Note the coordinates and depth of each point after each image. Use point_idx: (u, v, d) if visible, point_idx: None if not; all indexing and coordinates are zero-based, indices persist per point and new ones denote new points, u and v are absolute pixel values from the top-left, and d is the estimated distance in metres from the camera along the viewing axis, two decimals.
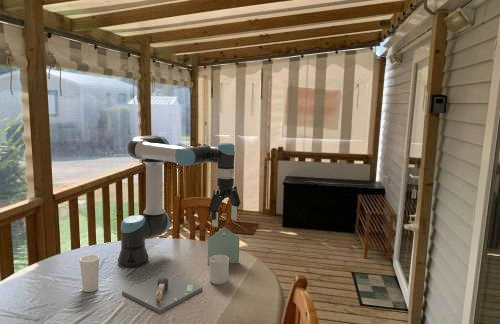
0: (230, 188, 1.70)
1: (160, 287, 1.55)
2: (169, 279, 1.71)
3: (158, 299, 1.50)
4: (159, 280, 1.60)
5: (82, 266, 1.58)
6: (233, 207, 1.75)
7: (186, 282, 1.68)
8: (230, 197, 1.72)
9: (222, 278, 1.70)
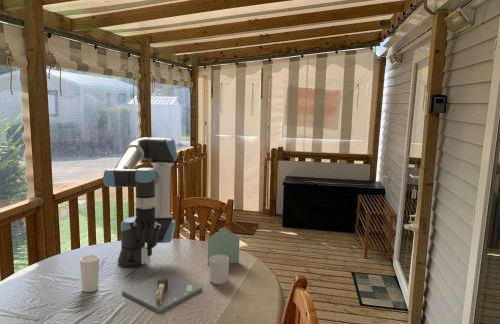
0: (150, 219, 1.48)
1: (160, 287, 1.55)
2: (169, 279, 1.71)
3: (158, 299, 1.50)
4: (159, 280, 1.60)
5: (82, 266, 1.58)
6: None
7: (186, 282, 1.68)
8: None
9: (222, 278, 1.70)
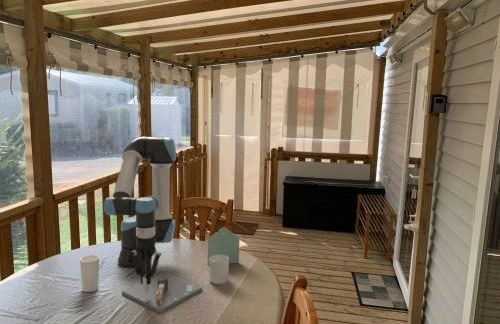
0: (150, 249, 1.50)
1: (160, 287, 1.55)
2: (169, 279, 1.71)
3: (158, 299, 1.50)
4: (159, 280, 1.60)
5: (82, 266, 1.58)
6: None
7: (186, 282, 1.68)
8: None
9: (222, 278, 1.70)
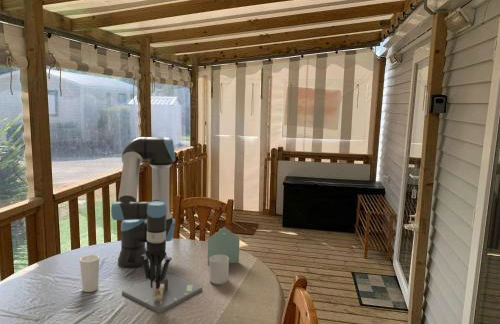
0: (161, 253, 1.49)
1: (161, 287, 1.55)
2: (169, 279, 1.71)
3: (159, 299, 1.50)
4: None
5: (82, 266, 1.58)
6: None
7: (186, 282, 1.68)
8: None
9: (222, 278, 1.70)
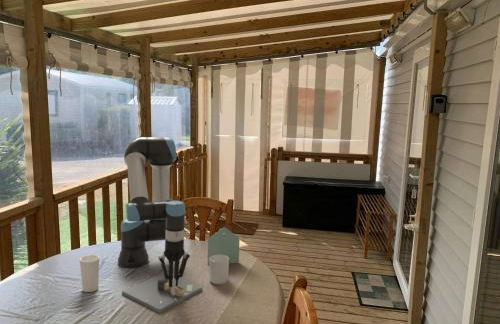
0: (181, 250, 1.53)
1: None
2: None
3: (182, 294, 1.55)
4: (160, 281, 1.59)
5: (82, 266, 1.58)
6: None
7: (186, 282, 1.68)
8: (175, 263, 1.53)
9: (222, 278, 1.70)
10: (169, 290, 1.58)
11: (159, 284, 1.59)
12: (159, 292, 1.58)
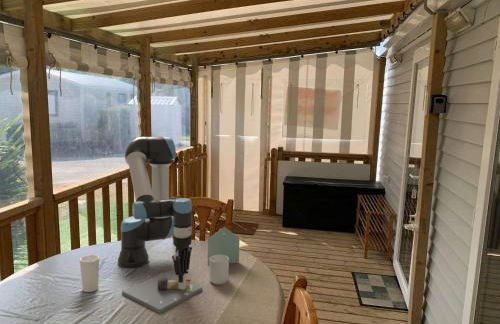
0: None
1: (176, 281, 1.62)
2: (169, 279, 1.71)
3: (189, 285, 1.63)
4: (163, 281, 1.60)
5: (82, 266, 1.58)
6: None
7: None
8: None
9: (222, 278, 1.70)
10: (174, 286, 1.61)
11: (162, 284, 1.59)
12: (159, 292, 1.58)
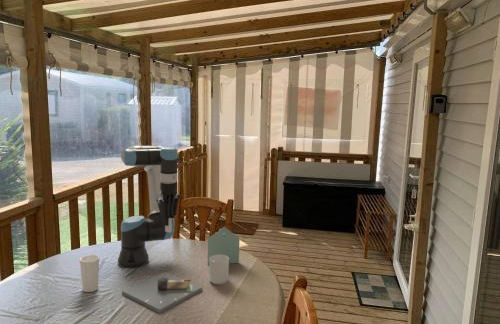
0: (174, 191, 1.70)
1: (176, 281, 1.62)
2: (169, 279, 1.71)
3: (189, 285, 1.63)
4: (163, 281, 1.60)
5: (82, 266, 1.58)
6: None
7: None
8: (170, 203, 1.70)
9: (222, 278, 1.70)
10: (174, 286, 1.61)
11: (162, 284, 1.59)
12: (159, 292, 1.58)
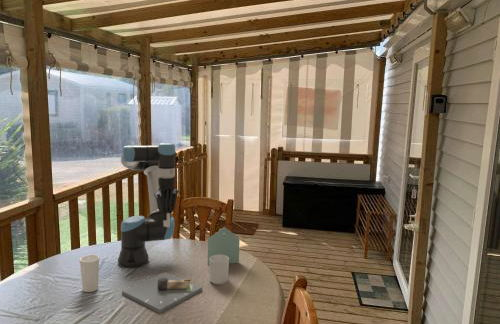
0: (172, 186, 1.73)
1: (176, 281, 1.62)
2: (169, 279, 1.71)
3: (189, 285, 1.63)
4: (163, 281, 1.60)
5: (82, 266, 1.58)
6: None
7: None
8: (168, 198, 1.73)
9: (222, 278, 1.70)
10: (174, 286, 1.61)
11: (162, 284, 1.59)
12: (159, 292, 1.58)
